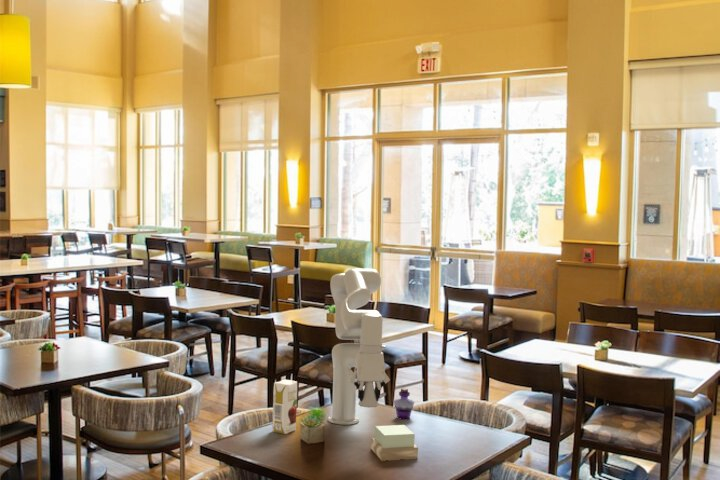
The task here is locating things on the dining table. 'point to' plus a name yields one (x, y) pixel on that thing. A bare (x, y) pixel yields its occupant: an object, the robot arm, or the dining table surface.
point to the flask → (369, 396)
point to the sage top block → (394, 436)
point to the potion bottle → (403, 405)
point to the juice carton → (284, 406)
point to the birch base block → (394, 452)
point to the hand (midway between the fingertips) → (368, 399)
